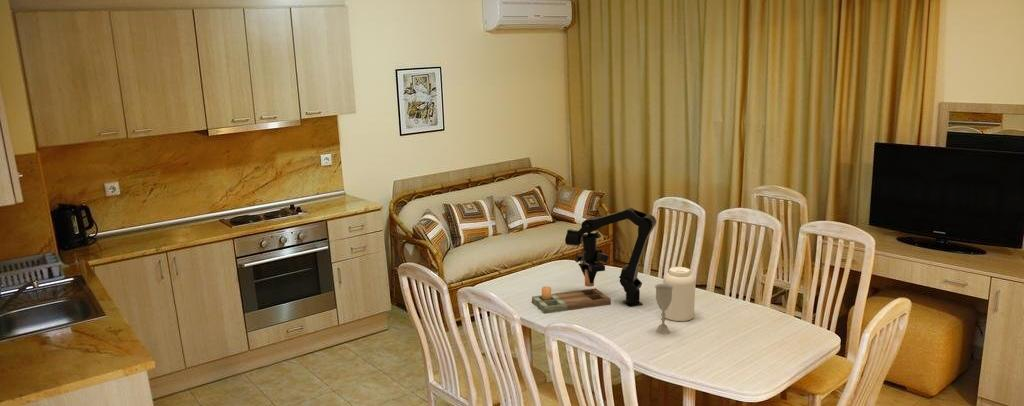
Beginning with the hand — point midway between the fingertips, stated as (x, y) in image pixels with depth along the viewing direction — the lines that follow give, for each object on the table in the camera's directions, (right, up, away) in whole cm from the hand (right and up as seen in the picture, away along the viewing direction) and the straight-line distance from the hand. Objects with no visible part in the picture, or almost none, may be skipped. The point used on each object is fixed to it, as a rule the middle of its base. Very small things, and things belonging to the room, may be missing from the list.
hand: (589, 281), depth 325 cm
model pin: (-19, -9, -5) cm, 21 cm away
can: (+34, -12, -22) cm, 42 cm away
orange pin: (0, -1, 0) cm, 2 cm away
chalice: (+24, -15, -37) cm, 47 cm away
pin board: (-8, -9, -5) cm, 13 cm away
